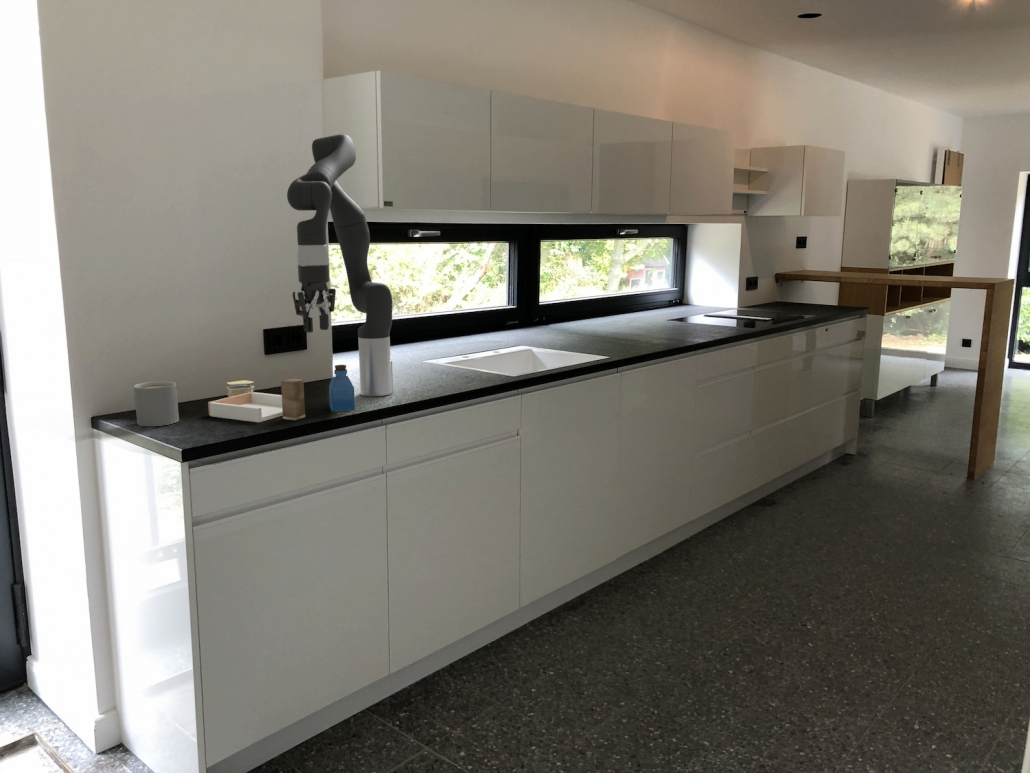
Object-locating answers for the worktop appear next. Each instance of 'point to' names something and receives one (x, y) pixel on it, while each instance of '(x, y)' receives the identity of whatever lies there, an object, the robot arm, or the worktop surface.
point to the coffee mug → (156, 403)
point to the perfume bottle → (341, 391)
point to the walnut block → (293, 399)
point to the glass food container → (239, 388)
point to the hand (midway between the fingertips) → (316, 330)
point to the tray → (248, 407)
